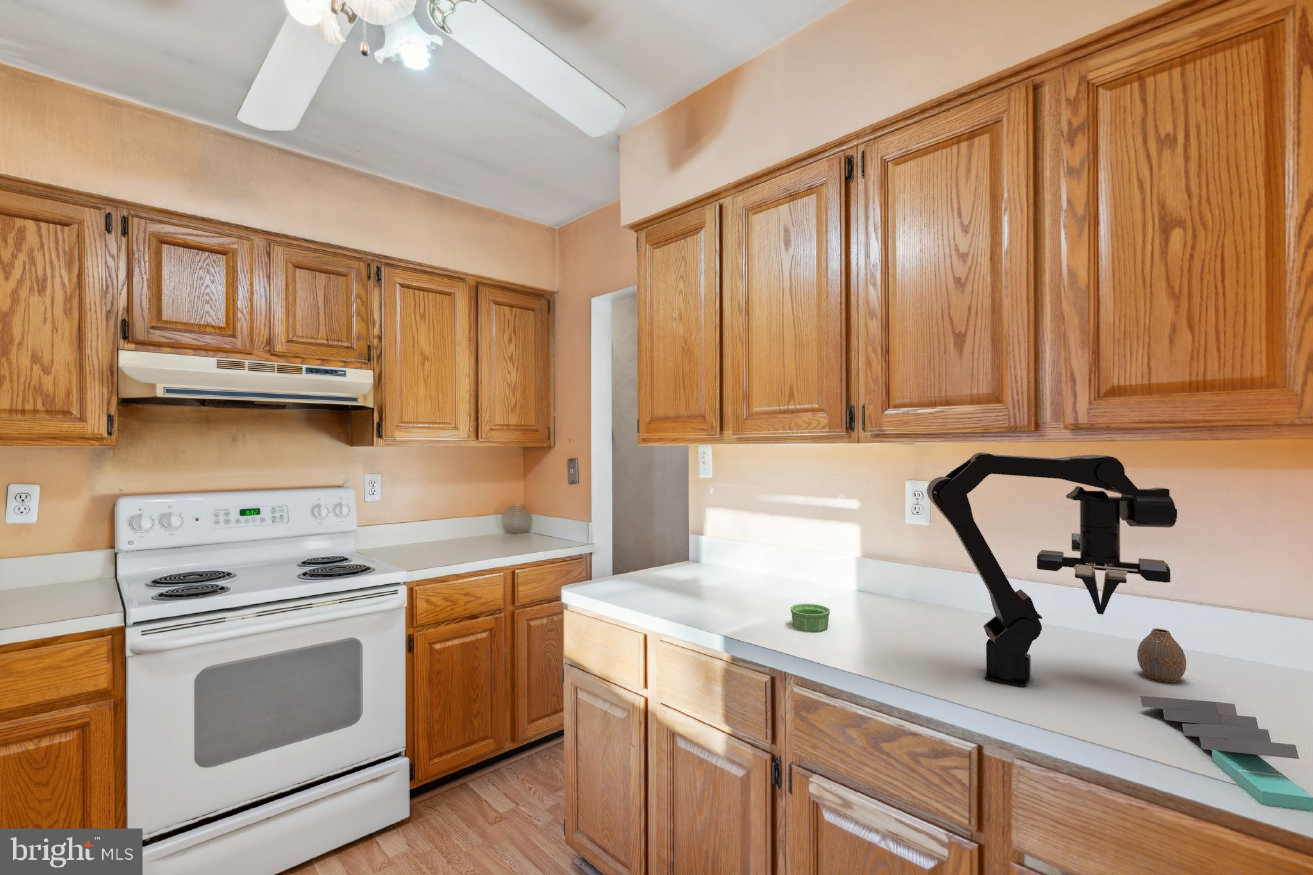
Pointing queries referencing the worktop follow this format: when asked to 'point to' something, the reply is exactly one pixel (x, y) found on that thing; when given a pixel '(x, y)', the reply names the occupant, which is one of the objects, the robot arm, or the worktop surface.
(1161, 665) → the vase
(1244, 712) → the worktop surface
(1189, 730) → the domino
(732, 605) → the worktop surface
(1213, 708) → the domino
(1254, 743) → the domino
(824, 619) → the ramekin
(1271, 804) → the domino
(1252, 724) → the domino
